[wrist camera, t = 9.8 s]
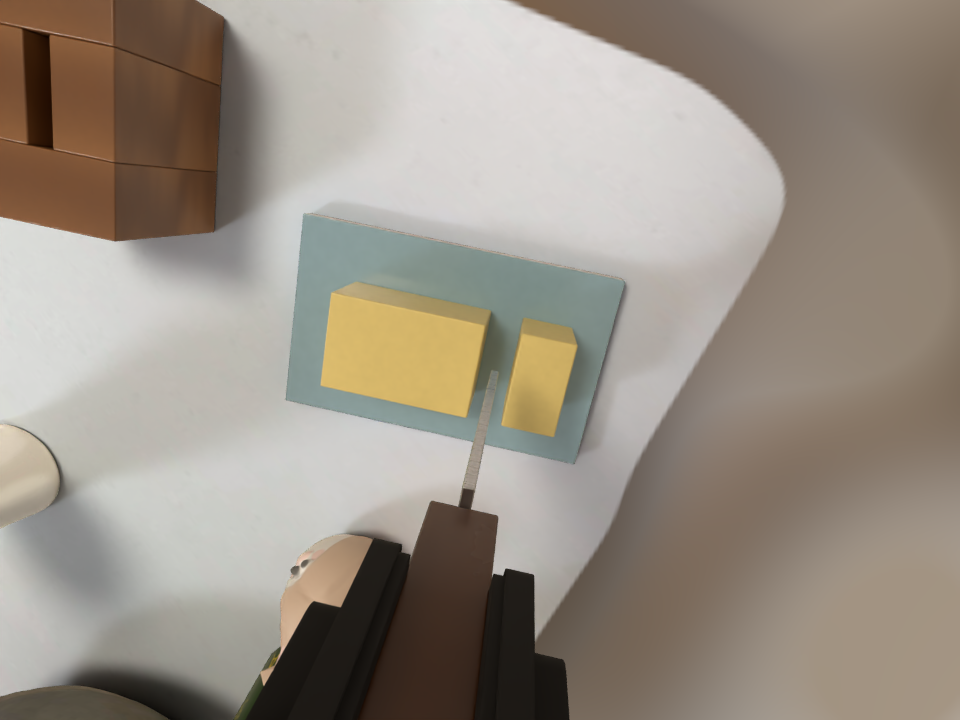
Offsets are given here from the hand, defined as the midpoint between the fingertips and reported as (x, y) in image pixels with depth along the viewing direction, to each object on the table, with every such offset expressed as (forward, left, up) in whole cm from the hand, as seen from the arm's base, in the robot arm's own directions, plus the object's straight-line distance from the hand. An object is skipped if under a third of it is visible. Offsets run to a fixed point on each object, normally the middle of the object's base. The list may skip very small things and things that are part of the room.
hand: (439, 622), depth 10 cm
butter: (0, -4, -18) cm, 19 cm away
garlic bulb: (+15, -6, -19) cm, 25 cm away
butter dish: (0, -3, -19) cm, 19 cm away
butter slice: (0, +2, -18) cm, 18 cm away
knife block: (-8, -19, -19) cm, 28 cm away
